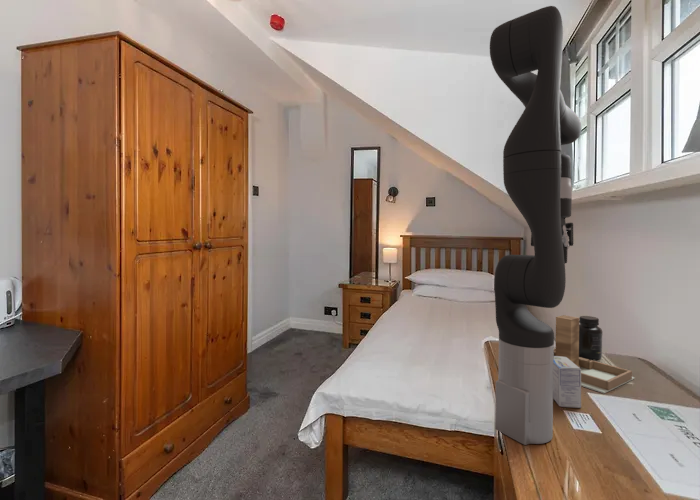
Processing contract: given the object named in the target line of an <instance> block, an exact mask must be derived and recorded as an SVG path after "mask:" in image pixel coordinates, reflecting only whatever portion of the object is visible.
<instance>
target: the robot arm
mask: <svg viewBox="0 0 700 500" xmlns="http://www.w3.org/2000/svg"><path fill="white" fill-rule="evenodd" d="M562 19H563V18H562V15H561V12H560V10H559V8H557V7H556V6H554V5H548V6H544V7H541V8H539V9H536V10H533V11H531V12H528V13H526V14H522V15H521V16H517V17H515V18H513V19H511V20H508V21H506V22H503V23H502V24H500V25H498V26H496V27H495V28H494V29H493V31H492V33H491V35H490V39H489V56H490V61H491V64H492V67H493V69H494V72H495V73H496V75H497V77H498V78H499V79H500V80H501V81H502V83H503V84H504V85H505V86H506V87H507V88H508V89H509V91H510V92H511V93H513V95H514V96H515V97H516V98H517V99H518V100H519V101H520V102H521V103H522V104H523V106H524V110H523V112H522V113H521V115H520V117H519V119H518V120H517V121H516V123H515V125H514V127H513V128H512V130H511V132H510V134H509V135H508V137H507V140H506V142H505V144H504V147H503V151H502V153H503V154H502V155H503V156H502V157H503V160H502V165H503V166H502V167H503V170H502V171H503V173H502V174H503V185H504V188H505V190H506V193H507V195H508V197H510V199H511V201H512V202H513V204H514V205H515V207H516V208H517V209H518V211H519V213H520V214H521V216H522V217H523V218H524V220H525V221H526V224H527V226H528V227H529V230H530V234H531V235H530V246H531V247H533V249H534V255H531V254H507V255H504V256H503V257H501V258H500V259H499V260H498V262H497V265H496V268H495V272H494V282H493V284H494V286H493V287H494V304H495V306H494V307H495V322H496V326H497V329H498V373H497V374H498V379H497V380H496V381H495V412H494V413H495V414H494V415H495V419H494V420H495V422H494V426H495V427H494V428H495V430H496V431H498V432H500V433H501V434H503V435H505V436H507V437H509V438H511V439H513V440H514V441H516V442H518V443H519V444H522V445H524V446H527V445H529V444H531V445H532V444H536V445H539V444H541V445H542V444H545V443H548V442H550V441H551V440H552V439H553V432H554V429H553V427H554V425H553V424H554V399H553V361H554V349H555V346H554V343H555V332H554V329H553V328H552V326H550V325H548V324H547V323H546V322H544V321H542V320H540V319H539V318H538V317H536V316H534V315H533V313H532V312H530V310H529V309H528V307H527V306H531V307H532V306H533V307H538V308H545V309H554V308H556V307H558V306H559V305H560V304H561V302H562V300H563V298H564V296H565V291H566V282H567V281H566V278H567V277H566V264H567V263H568V251H569V250H568V249H570V247H572V246H574V223H573V222H566V218H570V217H572V199H573V198H572V196H573V195H572V194H573V188H572V187H573V186H572V177H571V176H572V158H571V157H570V155H569V154H564V153H563V154H562V146H564V145H570V144H572V143H574V142H576V141H577V140H578V139H579V137H580V135H581V134H582V133H581V132H582V121H581V119H580V117H579V116H578V114H577V113H576V112H575V111H574V110H573V109H571V108H570V107H569V106H568V105H567V104H566V102H565V99H564V95H563V93H562V91H561V80H562V79H561V77H562V64H563V46H564V45H563V44H564V43H563V42H564V31H563V29H564V28H563V20H562ZM534 71H537V73H533V72H534Z"/></svg>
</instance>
